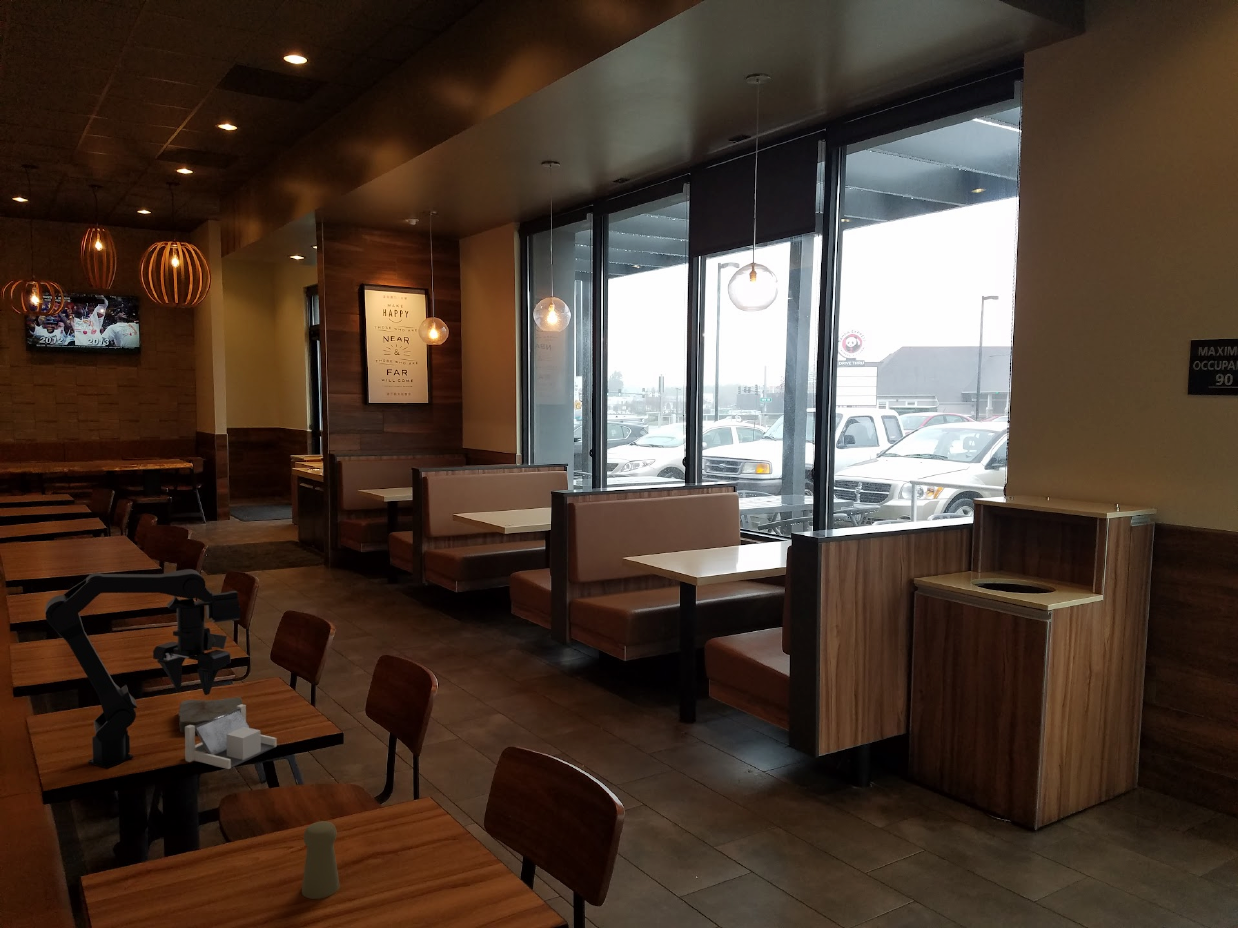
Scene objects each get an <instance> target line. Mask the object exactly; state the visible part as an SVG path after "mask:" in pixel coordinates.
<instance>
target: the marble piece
mask: <svg viewBox="0 0 1238 928" xmlns="http://www.w3.org/2000/svg"><path fill="white" fill-rule="evenodd" d="M241 704H243V699H242V698H241V696H237V697H233V698H232V697H227V698H226V697H225V698H223V699H214V700H213V699H212V700H211V699H210V700H202V699H186V700H182V701H181V703H180V704H179V707H178V708H179V710H178V715H177V716H178V718H179V723H178V725H179V731H180V733H181V734H183V733H185V727H186V726H188V725H194V726H196V725H199V724H201V723H203V722H206V721H208V720H211V719H213V718H216V717H218V716H221V715H223V714H226V713H228V712H231V711H233V710H236V709H237V706H238V705H241ZM195 733H196V731H195Z"/></svg>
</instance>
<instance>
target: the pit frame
mask: <svg viewBox="0 0 1238 928" xmlns="http://www.w3.org/2000/svg"><path fill="white" fill-rule="evenodd" d="M237 709H240V713H241V714H242V716H243V718H244V719H245V721H246V722H247V705H246V704H243V703H242V704H241V705H238V706H237ZM277 739H278V738H277V737H273V736H269V735H264V734H261V752H259V753H257V754H255V755H253V756H251V757H249V758H247V759H245V760H241V759H237V758H233V757H229V756H227V750H226V751H224V752H222V753H220V754H217V755H211V754H208V752H207V750H206V749H205V747H204V745H203V743H202V742H201V741H200V742H199V743H197V744H196V732H195V726H194V725H188V726H186V727H185V732H184V743H185V744H184V747H185V748H184V757H185V762H189V763H191V762H193V761H195V762H199V763H203V764H208V765H211V766H214V767H218V768H223V769H226V770H229V769H232V768H235V767H237V766H238V765H241V764H243V763H245V762H247V761H249V760H252V759H254V758H255V757H257V756H260V755H262V754H264V753H266V752H268V751H270V750H272V749H274V748H276V747H277V745H278V743H277Z"/></svg>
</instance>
